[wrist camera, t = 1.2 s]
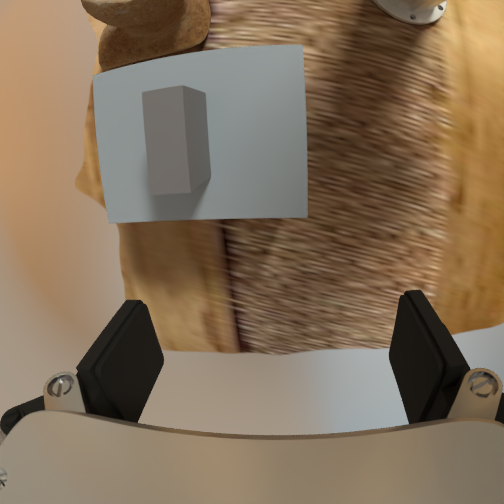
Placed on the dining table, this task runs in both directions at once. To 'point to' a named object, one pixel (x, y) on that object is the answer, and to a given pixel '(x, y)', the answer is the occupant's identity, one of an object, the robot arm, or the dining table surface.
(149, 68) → the lid
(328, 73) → the dining table surface
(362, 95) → the dining table surface
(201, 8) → the tan boot
